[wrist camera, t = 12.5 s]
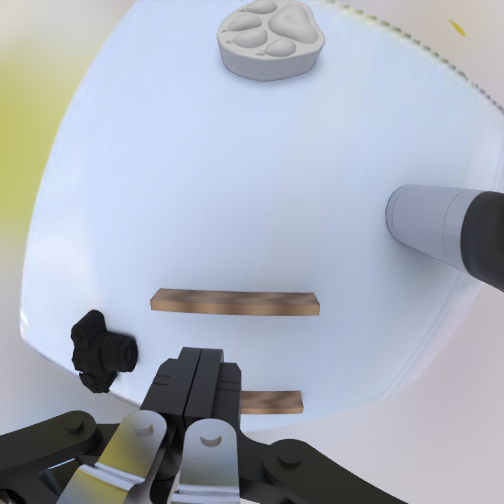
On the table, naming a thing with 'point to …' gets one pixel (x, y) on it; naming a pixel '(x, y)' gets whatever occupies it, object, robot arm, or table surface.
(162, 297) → the walnut chute
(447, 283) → the table surface
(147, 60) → the table surface
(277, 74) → the lumpy-topped squat cylinder
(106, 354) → the film camera
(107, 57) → the table surface
